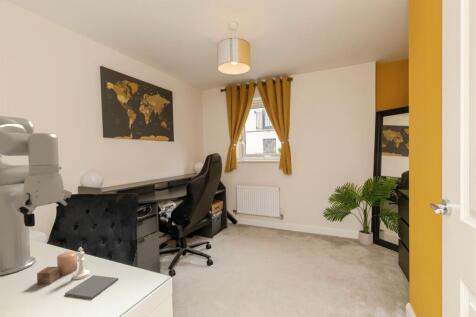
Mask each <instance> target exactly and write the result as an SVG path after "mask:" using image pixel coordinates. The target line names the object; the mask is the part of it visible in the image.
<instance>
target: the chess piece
mask: <svg viewBox="0 0 476 317" xmlns="http://www.w3.org/2000/svg"><path fill="white" fill-rule="evenodd" d="M77 250H78V252H77V256H78V258H77V262H78V264H79V265H78V270H77V271H76V272H75V273H74V274H73V275H72V278H73V280H82V279H85V278H86V277H88V276H90V274H91V271H90V270H89V269H85V265H84V261H85V260H86V259H85V257H84V256H85V251H84V248H82V246H80V247H79V248H78V249H77Z"/></svg>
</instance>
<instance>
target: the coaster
mask: <svg viewBox="0 0 476 317" xmlns="http://www.w3.org/2000/svg"><path fill="white" fill-rule="evenodd" d="M118 280H119V277H114V276H113V277H112V276H111V277H110V276H103V275H96V274H95V275H94V274H93V275H92V276H90V277H88V278H86V279H85V280H83V281H82V282H80V283H79V284H77V285H76V286H74V287H72V288H71V289H70V290H68V291H66V292H65V293H64V295H65V296H67V297H68V296H69V297H76V298H80V299H81V298H83V299H88V300H93V299H95V298H96V297H97V296H99V295H100V294H101V293H103V292H104V291H106V290H107V289H108V288H110V287H111V286H113V284H115V283H116V282H118Z"/></svg>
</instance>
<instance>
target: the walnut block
mask: <svg viewBox="0 0 476 317" xmlns="http://www.w3.org/2000/svg"><path fill="white" fill-rule="evenodd" d="M59 278H60V275H59V267H57V266H46V267H45V268H43V269H42V270H40V271H38V272H37V273H36V280H37V286H47V285H49V286H50V285H52V284H53V283H54V282H56V281H57V280H58V279H59Z"/></svg>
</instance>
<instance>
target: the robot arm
mask: <svg viewBox="0 0 476 317" xmlns="http://www.w3.org/2000/svg"><path fill="white" fill-rule="evenodd" d="M34 131H35V129H34V125H33V123H32V122H31V121H30V120H29V119H27V118H24V117H17V116H16V117H14V116H6V115H0V276H3V275H4V276H5V275H9V274H14V273H16V272H20V271H23V270H25V269H27V268H29V267H31V266H33V265H34V264H35V263H36V261H37V260H36V259H37V258H36V257H34V256H31V242H30V228H31V227H32V228H33V227H34V226H36V221H35V220H36V218H35V217H36V216H35V213H33V212H34V211H35V210H36V208H37V207H42V206H47V205H51V204H56V207H55V209H56V210H55V212H56V214H55V215H56V218H60V219H61V218H62V219H63V218H66V206H67V205H68V202H69V201H70V200H71V196H72V193H73V192H72V191H69V190H66V189H65V187H64V181H63V176H62V174H61V173H60V170H62V166H61V165H59V164H60V163H59V162H60V161H59V159H60V158H59V140H58V136H57V135H56V134H55V133H45V132H34ZM3 156H5V157H15V156H16V157H17V156H18V157H23V156H26V157H27V156H28V157H27V158H28V164H19V165H18V164H17V165H13V164H9V163H8V161H7V160H6V158H5V157H3Z"/></svg>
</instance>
